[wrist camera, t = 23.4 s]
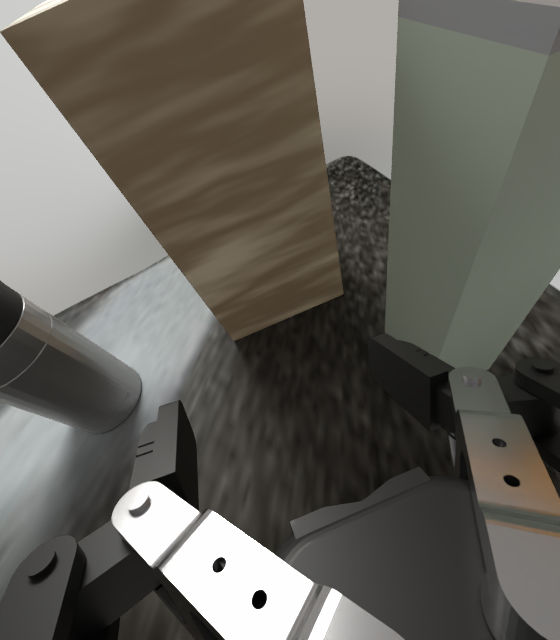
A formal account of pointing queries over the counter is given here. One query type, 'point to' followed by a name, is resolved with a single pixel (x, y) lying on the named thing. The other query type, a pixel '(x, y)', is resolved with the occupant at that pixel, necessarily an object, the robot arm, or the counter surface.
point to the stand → (202, 138)
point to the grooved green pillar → (473, 173)
